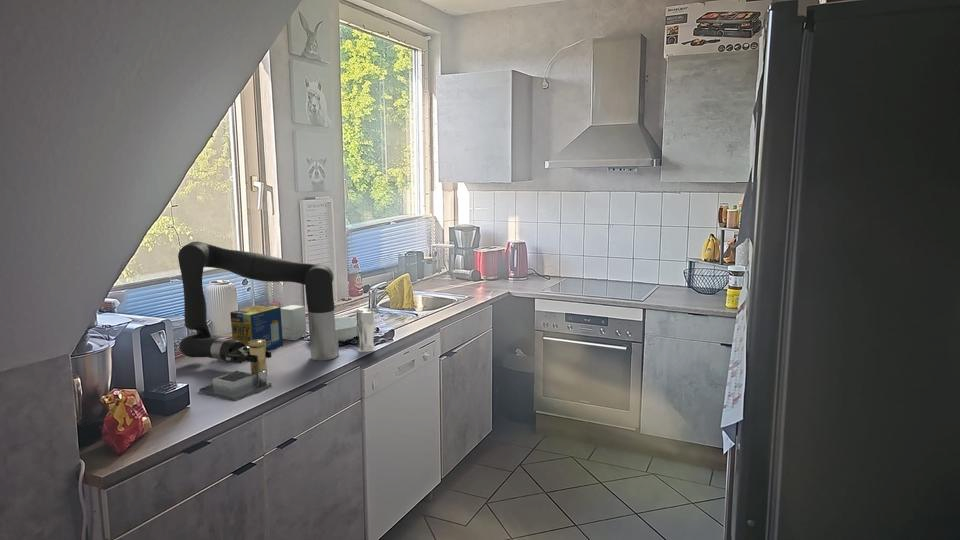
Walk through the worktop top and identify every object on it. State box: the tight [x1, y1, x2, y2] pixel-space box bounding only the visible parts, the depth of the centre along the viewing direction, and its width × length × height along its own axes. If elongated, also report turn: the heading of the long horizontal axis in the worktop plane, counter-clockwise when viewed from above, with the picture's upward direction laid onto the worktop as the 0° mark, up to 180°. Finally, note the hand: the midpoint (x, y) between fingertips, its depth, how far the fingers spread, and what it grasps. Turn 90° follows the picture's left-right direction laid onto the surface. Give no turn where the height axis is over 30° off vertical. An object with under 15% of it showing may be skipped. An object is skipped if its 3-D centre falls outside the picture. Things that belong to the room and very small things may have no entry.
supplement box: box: [281, 304, 308, 341], centre depth 258 cm, size 7×7×13 cm
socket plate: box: [198, 370, 272, 402], centre depth 199 cm, size 14×16×5 cm
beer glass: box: [355, 308, 376, 353], centre depth 238 cm, size 7×7×15 cm
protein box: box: [229, 303, 284, 351], centre depth 242 cm, size 10×15×16 cm
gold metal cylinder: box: [248, 339, 268, 380], centre depth 210 cm, size 6×6×12 cm
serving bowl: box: [335, 316, 358, 342], centre depth 255 cm, size 21×21×7 cm
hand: (263, 357), depth 208 cm, fingers closed on gold metal cylinder, 5 cm apart
